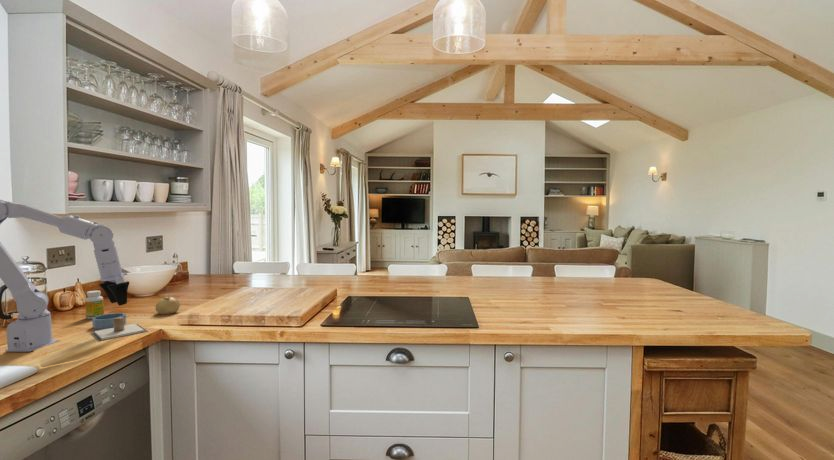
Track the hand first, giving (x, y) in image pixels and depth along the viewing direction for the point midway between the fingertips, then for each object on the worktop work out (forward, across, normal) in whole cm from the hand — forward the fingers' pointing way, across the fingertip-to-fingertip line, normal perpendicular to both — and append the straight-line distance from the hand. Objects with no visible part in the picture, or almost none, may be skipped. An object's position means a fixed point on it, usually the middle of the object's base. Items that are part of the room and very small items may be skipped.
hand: (119, 303), depth 136 cm
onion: (+12, +14, -17) cm, 25 cm away
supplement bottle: (+8, +32, +1) cm, 33 cm away
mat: (+9, -1, +2) cm, 10 cm away
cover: (+9, -1, +2) cm, 9 cm away
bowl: (+9, +12, +1) cm, 15 cm away
